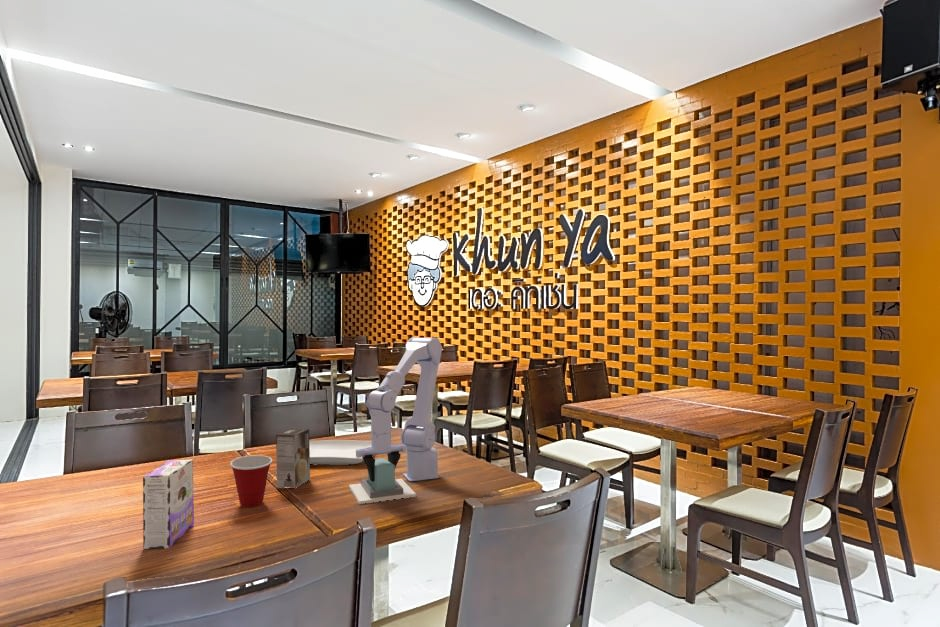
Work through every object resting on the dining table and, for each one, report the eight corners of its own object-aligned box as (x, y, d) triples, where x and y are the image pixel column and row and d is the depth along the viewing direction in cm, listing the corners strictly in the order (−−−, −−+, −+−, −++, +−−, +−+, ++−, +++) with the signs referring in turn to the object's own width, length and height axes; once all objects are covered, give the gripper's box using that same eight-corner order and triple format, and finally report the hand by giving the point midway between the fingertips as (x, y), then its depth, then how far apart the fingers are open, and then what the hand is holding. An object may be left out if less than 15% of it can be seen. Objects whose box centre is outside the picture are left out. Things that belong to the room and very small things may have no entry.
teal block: (394, 489, 161) (394, 465, 161) (378, 492, 158) (377, 467, 158) (384, 481, 169) (384, 458, 169) (368, 484, 166) (367, 460, 166)
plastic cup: (232, 513, 147) (231, 467, 147) (228, 501, 156) (228, 458, 156) (275, 506, 152) (275, 461, 152) (269, 495, 161) (269, 453, 161)
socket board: (401, 481, 174) (401, 473, 174) (416, 496, 159) (416, 488, 159) (349, 487, 168) (349, 479, 168) (359, 504, 153) (359, 495, 153)
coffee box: (291, 479, 177) (291, 428, 176) (310, 480, 175) (310, 428, 175) (275, 488, 168) (275, 434, 168) (295, 489, 166) (295, 435, 166)
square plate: (364, 468, 190) (364, 456, 190) (283, 468, 190) (283, 457, 190) (378, 449, 217) (378, 439, 217) (307, 449, 217) (307, 439, 217)
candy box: (169, 526, 138) (169, 459, 138) (194, 525, 139) (194, 458, 139) (142, 550, 124) (141, 475, 124) (169, 548, 125) (169, 474, 125)
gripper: (400, 427, 170) (400, 472, 170) (352, 432, 163) (353, 479, 163) (408, 431, 164) (408, 478, 164) (359, 437, 157) (360, 485, 157)
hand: (381, 479), depth 163 cm, fingers closed on teal block, 5 cm apart
